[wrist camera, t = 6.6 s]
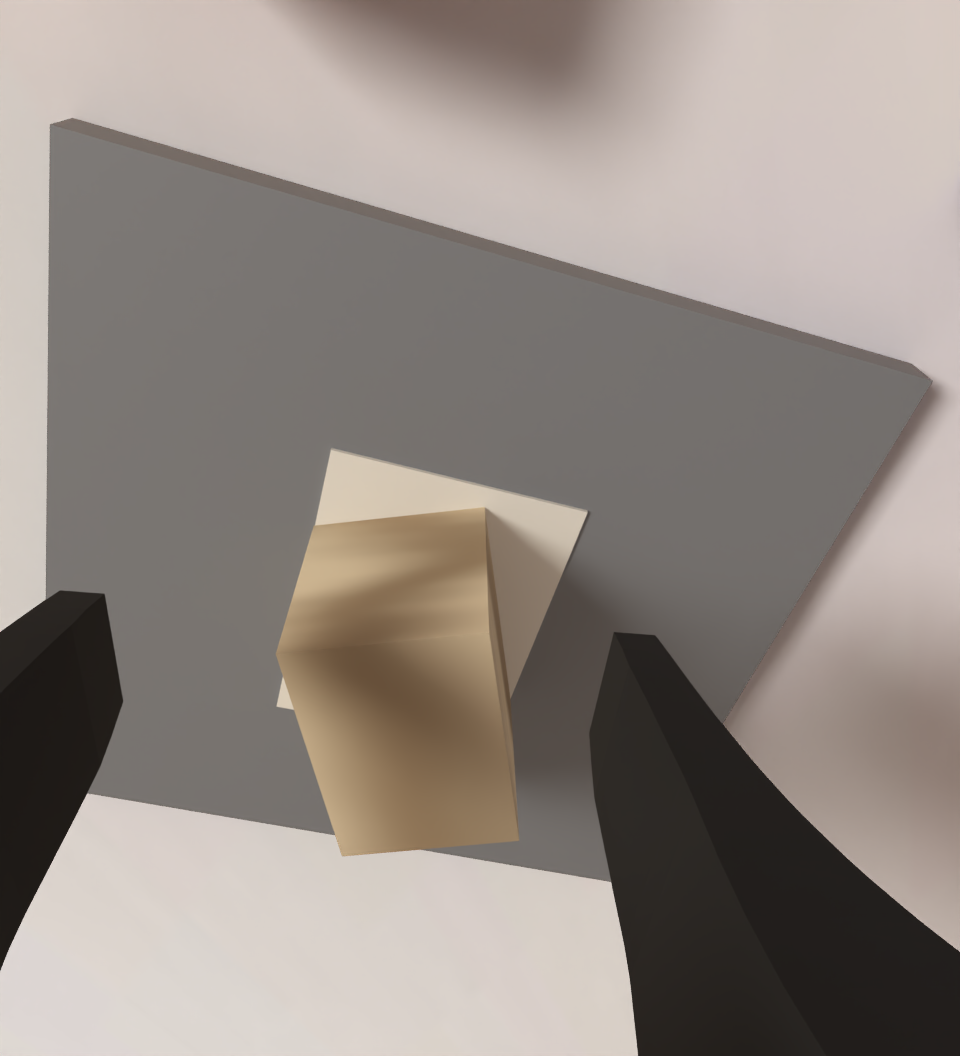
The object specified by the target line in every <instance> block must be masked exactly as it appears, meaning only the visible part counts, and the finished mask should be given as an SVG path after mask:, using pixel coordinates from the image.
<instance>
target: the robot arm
mask: <svg viewBox="0 0 960 1056" xmlns="http://www.w3.org/2000/svg"><path fill="white" fill-rule="evenodd" d="M122 704H123V696H122V691H121V685H120V679H119V673H118V667H117V662H116V656H115V650H114V644H113V639H112V633H111V627H110V621H109V616H108V610H107V604H106V598H105V594H102V593H89V592H76V591H63V590H60V591H58V592H57V593H55V594H54V595H52V596H51V597H49V598H48V599H46V600H45V601H43V602H42V603H40V604H39V605H37V606H36V607H35V608H33V609H32V610H30V611H29V612H28V613H26V614H25V615H23V616H22V617H21V618H19V619H18V620H16V621H15V622H14V623H12V624H11V625H9V626H8V627H7V628H5V629H4V630H3V631H1V632H0V970H1V967H2V965H3V962H4V960H5V957H6V955H7V952H8V950H9V948H10V945H11V943H12V941H13V939H14V937H15V935H16V933H17V930H18V928H19V926H20V924H21V922H22V920H23V918H24V915H25V913H26V911H27V909H28V908H29V906H30V904H31V902H32V900H33V898H34V896H35V894H36V892H37V890H38V888H39V886H40V884H41V882H42V880H43V878H44V876H45V875H46V873H47V871H48V869H49V867H50V865H51V863H52V861H53V859H54V857H55V855H56V853H57V851H58V849H59V847H60V845H61V843H62V842H63V840H64V838H65V836H66V834H67V832H68V830H69V828H70V826H71V824H72V822H73V820H74V818H75V816H76V814H77V812H78V810H79V808H80V806H81V804H82V802H83V800H84V799H85V797H86V795H87V793H88V791H89V789H90V787H91V785H92V783H93V781H94V779H95V777H96V775H97V772H98V770H99V768H100V766H101V764H102V761H103V758H104V755H105V753H106V750H107V747H108V745H109V742H110V739H111V737H112V734H113V731H114V728H115V725H116V722H117V719H118V716H119V713H120V710H121V707H122ZM589 738H590V752H591V766H592V778H593V789H594V799H595V804H596V809H597V814H598V819H599V824H600V829H601V834H602V839H603V844H604V849H605V854H606V859H607V864H608V868H609V873H610V878H611V883H612V888H613V893H614V897H615V902H616V907H617V912H618V917H619V922H620V926H621V931H622V936H623V941H624V946H625V952H626V958H627V964H628V970H629V976H630V984H631V993H632V1002H633V1011H634V1021H635V1030H636V1039H637V1048H638V1056H960V952H959V951H958V950H956V949H955V948H954V947H953V946H951V945H950V944H949V943H947V942H946V941H945V940H944V939H942V938H941V937H940V936H938V935H937V934H936V933H935V932H933V931H932V930H931V929H929V928H928V927H927V926H926V925H924V924H923V923H922V922H921V921H919V920H918V919H917V918H916V917H914V916H913V915H912V914H911V913H910V912H909V911H907V910H906V909H905V908H904V907H903V906H901V905H900V904H899V903H898V902H897V901H895V900H894V899H893V898H892V897H891V896H889V895H888V894H887V893H886V892H885V891H884V890H882V889H881V888H880V887H879V886H878V885H876V884H875V883H874V882H873V881H872V880H871V879H869V878H868V877H867V876H866V875H865V874H864V873H863V872H862V871H860V870H859V869H858V868H857V867H856V866H855V865H854V864H853V863H852V862H850V861H849V860H848V859H847V858H846V857H845V856H844V855H843V854H842V853H841V852H840V851H839V850H838V849H837V848H836V847H835V846H834V845H833V844H831V843H830V842H829V841H828V840H827V839H826V838H825V837H824V836H823V835H822V834H821V833H820V832H819V831H818V830H817V829H816V828H815V827H814V826H813V825H812V824H811V823H810V822H809V821H808V820H807V819H806V818H805V817H804V816H803V815H802V814H801V813H800V812H799V811H798V810H797V809H796V808H795V807H794V806H793V805H792V804H791V803H790V802H789V801H788V800H787V799H786V798H785V796H784V795H783V794H782V793H781V792H780V791H779V790H778V789H777V788H776V787H775V785H774V784H773V783H772V782H771V781H770V780H769V779H768V778H767V777H766V776H765V774H764V773H763V772H762V771H761V770H760V769H759V768H758V766H757V765H756V764H755V763H754V762H753V761H752V759H751V758H750V757H749V756H748V755H747V754H746V752H745V751H744V750H743V749H742V747H741V746H740V745H739V744H738V743H737V741H736V740H735V739H734V738H733V736H732V735H731V734H730V733H729V731H728V730H727V729H726V728H725V726H724V725H723V724H722V723H721V722H720V720H719V719H718V718H717V716H716V715H715V714H714V713H713V711H712V710H711V709H710V707H709V706H708V705H707V704H706V702H705V701H704V700H703V698H702V697H701V696H700V694H699V693H698V692H697V690H696V689H695V688H694V686H693V685H692V684H691V682H690V681H689V680H688V678H687V677H686V676H685V674H684V673H683V672H682V670H681V669H680V667H679V666H678V665H677V663H676V662H675V661H674V659H673V658H672V657H671V655H670V654H669V652H668V651H667V650H666V648H665V647H664V646H663V644H662V643H661V642H660V641H659V639H658V638H657V637H656V635H646V634H633V633H620V632H614V633H613V637H612V642H611V646H610V650H609V654H608V658H607V662H606V666H605V670H604V674H603V678H602V682H601V686H600V691H599V695H598V699H597V703H596V707H595V711H594V715H593V719H592V723H591V727H590V731H589Z"/></svg>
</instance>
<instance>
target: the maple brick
mask: <svg viewBox="0 0 960 1056" xmlns="http://www.w3.org/2000/svg"><path fill="white" fill-rule="evenodd" d="M276 657H277V660H278V663H279V666H280V669H281V672H282V675H283V678H284V681H285V684H286V687H287V690H288V693H289V696H290V699H291V702H292V705H293V708H294V711H295V714H296V717H297V720H298V723H299V727H300V730H301V733H302V736H303V739H304V742H305V745H306V748H307V751H308V754H309V757H310V760H311V763H312V766H313V769H314V772H315V775H316V778H317V781H318V784H319V787H320V790H321V793H322V797H323V800H324V803H325V806H326V809H327V812H328V815H329V818H330V821H331V824H332V827H333V830H334V833H335V836H336V839H337V842H338V845H339V848H340V851H341V854H342V856H351V855H363V854H374V853H386V852H397V851H409V850H420V849H432V848H443V847H455V846H466V845H478V844H489V843H501V842H512V841H519V829H518V813H517V797H516V781H515V765H514V749H513V733H512V717H511V701H510V692H509V684H508V677H507V669H506V662H505V654H504V647H503V640H502V632H501V625H500V617H499V610H498V602H497V595H496V587H495V580H494V572H493V565H492V558H491V550H490V543H489V535H488V528H487V520H486V513H485V507H481V508H472V509H463V510H454V511H445V512H435V513H426V514H417V515H408V516H398V517H389V518H380V519H371V520H361V521H352V522H343V523H334V524H325V525H315V526H313V530H312V533H311V537H310V540H309V543H308V547H307V550H306V553H305V557H304V560H303V564H302V567H301V570H300V574H299V577H298V580H297V584H296V587H295V591H294V594H293V597H292V601H291V604H290V607H289V611H288V614H287V618H286V621H285V624H284V628H283V631H282V634H281V638H280V641H279V645H278V648H277V651H276Z"/></svg>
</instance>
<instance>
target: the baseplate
mask: <svg viewBox="0 0 960 1056" xmlns="http://www.w3.org/2000/svg"><path fill="white" fill-rule="evenodd" d="M931 383H932V380H931V379H930V378H928V377H927V376H926V375H925V374H923V373H922V372H921V371H920V370H918V369H917V368H916V367H915V366H913V365H912V364H910V363H907V362H904V361H900V360H897V359H893V358H890V357H886V356H883V355H880V354H876V353H873V352H869V351H866V350H863V349H859V348H856V347H852V346H849V345H846V344H842V343H839V342H835V341H832V340H828V339H825V338H822V337H818V336H815V335H811V334H808V333H805V332H801V331H798V330H794V329H791V328H787V327H784V326H781V325H777V324H774V323H770V322H767V321H764V320H760V319H757V318H753V317H750V316H747V315H743V314H740V313H736V312H733V311H729V310H726V309H723V308H719V307H716V306H712V305H709V304H706V303H702V302H699V301H695V300H692V299H688V298H685V297H682V296H678V295H675V294H671V293H668V292H665V291H661V290H658V289H654V288H651V287H648V286H644V285H641V284H637V283H634V282H630V281H627V280H624V279H620V278H617V277H613V276H610V275H607V274H603V273H600V272H596V271H593V270H589V269H586V268H583V267H579V266H576V265H572V264H569V263H566V262H562V261H559V260H555V259H552V258H548V257H545V256H542V255H538V254H535V253H531V252H528V251H525V250H521V249H518V248H514V247H511V246H508V245H504V244H501V243H497V242H494V241H490V240H487V239H484V238H480V237H477V236H473V235H470V234H467V233H463V232H460V231H456V230H453V229H449V228H446V227H443V226H439V225H436V224H432V223H429V222H426V221H422V220H419V219H415V218H412V217H409V216H405V215H402V214H398V213H395V212H391V211H388V210H385V209H381V208H378V207H374V206H371V205H368V204H364V203H361V202H357V201H354V200H350V199H347V198H344V197H340V196H337V195H333V194H330V193H327V192H323V191H320V190H316V189H313V188H310V187H306V186H303V185H299V184H296V183H292V182H289V181H286V180H282V179H279V178H275V177H272V176H269V175H265V174H262V173H258V172H255V171H251V170H248V169H245V168H241V167H238V166H234V165H231V164H228V163H224V162H221V161H217V160H214V159H211V158H207V157H204V156H200V155H197V154H193V153H190V152H187V151H183V150H180V149H176V148H173V147H170V146H166V145H163V144H159V143H156V142H152V141H149V140H146V139H142V138H139V137H135V136H132V135H129V134H125V133H122V132H118V131H115V130H112V129H108V128H105V127H101V126H98V125H94V124H91V123H88V122H84V121H81V120H77V119H74V118H71V119H68V120H64V121H61V122H57V123H53V124H50V179H49V294H48V409H47V524H46V599H48V598H49V597H51V596H52V595H54V594H55V593H57V592H58V591H60V590H63V591H76V592H89V593H102V594H105V598H106V604H107V610H108V616H109V621H110V627H111V633H112V639H113V644H114V650H115V656H116V662H117V667H118V673H119V679H120V685H121V691H122V696H123V704H122V707H121V710H120V713H119V716H118V719H117V722H116V725H115V728H114V731H113V734H112V737H111V739H110V742H109V745H108V747H107V750H106V753H105V755H104V758H103V761H102V764H101V766H100V768H99V770H98V772H97V775H96V777H95V779H94V781H93V783H92V785H91V787H90V789H89V791H88V793H89V794H95V795H101V796H107V797H113V798H119V799H124V800H130V801H136V802H142V803H148V804H154V805H160V806H166V807H172V808H178V809H184V810H189V811H195V812H201V813H207V814H213V815H219V816H225V817H231V818H237V819H243V820H249V821H255V822H260V823H266V824H272V825H278V826H284V827H290V828H296V829H302V830H308V831H314V832H320V833H325V834H331V835H335V833H334V830H333V827H332V824H331V821H330V818H329V815H328V812H327V809H326V806H325V803H324V800H323V797H322V793H321V790H320V787H319V784H318V781H317V778H316V775H315V772H314V769H313V766H312V763H311V760H310V757H309V754H308V751H307V748H306V745H305V742H304V739H303V736H302V733H301V730H300V727H299V723H298V720H297V717H296V714H295V711H294V708H293V705H292V702H291V699H290V696H289V693H288V690H287V687H286V684H285V681H284V678H283V675H282V672H281V669H280V666H279V663H278V660H277V657H276V651H277V648H278V645H279V641H280V638H281V634H282V631H283V628H284V624H285V621H286V618H287V614H288V611H289V607H290V604H291V601H292V597H293V594H294V591H295V587H296V584H297V580H298V577H299V574H300V570H301V567H302V564H303V560H304V557H305V553H306V550H307V547H308V543H309V540H310V537H311V533H312V530H313V526H315V525H325V524H334V523H343V522H352V521H361V520H371V519H380V518H389V517H398V516H408V515H417V514H426V513H435V512H445V511H454V510H463V509H472V508H481V507H485V513H486V520H487V528H488V535H489V543H490V550H491V558H492V565H493V572H494V580H495V587H496V595H497V602H498V610H499V617H500V625H501V632H502V640H503V647H504V654H505V662H506V669H507V677H508V684H509V692H510V701H511V717H512V733H513V749H514V765H515V781H516V797H517V813H518V829H519V841H512V842H501V843H489V844H478V845H466V846H455V847H443V848H432V849H420V850H426V851H432V852H438V853H444V854H450V855H455V856H461V857H467V858H473V859H479V860H485V861H491V862H497V863H503V864H509V865H515V866H521V867H526V868H532V869H538V870H544V871H550V872H556V873H562V874H568V875H574V876H580V877H586V878H591V879H597V880H603V881H609V882H611V878H610V873H609V868H608V864H607V859H606V854H605V849H604V844H603V839H602V834H601V829H600V824H599V819H598V814H597V809H596V804H595V799H594V789H593V778H592V766H591V752H590V738H589V731H590V727H591V723H592V719H593V715H594V711H595V707H596V703H597V699H598V695H599V691H600V686H601V682H602V678H603V674H604V670H605V666H606V662H607V658H608V654H609V650H610V646H611V642H612V637H613V633H614V632H620V633H633V634H646V635H656V637H657V638H658V639H659V641H660V642H661V643H662V644H663V646H664V647H665V648H666V650H667V651H668V652H669V654H670V655H671V657H672V658H673V659H674V661H675V662H676V663H677V665H678V666H679V667H680V669H681V670H682V672H683V673H684V674H685V676H686V677H687V678H688V680H689V681H690V682H691V684H692V685H693V686H694V688H695V689H696V690H697V692H698V693H699V694H700V696H701V697H702V698H703V700H704V701H705V702H706V704H707V705H708V706H709V707H710V709H711V710H712V711H713V713H714V714H715V715H716V716H717V718H718V719H719V720H720V722H721V723H722V724H723V722H724V721H725V719H726V717H727V716H728V714H729V712H730V711H731V709H732V708H733V706H734V704H735V703H736V701H737V699H738V698H739V696H740V695H741V693H742V691H743V690H744V688H745V686H746V685H747V683H748V681H749V680H750V678H751V677H752V675H753V673H754V672H755V670H756V668H757V667H758V665H759V664H760V662H761V660H762V659H763V657H764V655H765V654H766V652H767V650H768V649H769V647H770V646H771V644H772V642H773V641H774V639H775V637H776V636H777V634H778V633H779V631H780V629H781V628H782V626H783V624H784V623H785V621H786V619H787V618H788V616H789V615H790V613H791V611H792V610H793V608H794V606H795V605H796V603H797V602H798V600H799V598H800V597H801V595H802V593H803V592H804V590H805V588H806V587H807V585H808V584H809V582H810V580H811V579H812V577H813V575H814V574H815V572H816V571H817V569H818V567H819V566H820V564H821V562H822V561H823V559H824V557H825V556H826V554H827V553H828V551H829V549H830V548H831V546H832V544H833V543H834V541H835V540H836V538H837V536H838V535H839V533H840V531H841V530H842V528H843V526H844V525H845V523H846V522H847V520H848V518H849V517H850V515H851V513H852V512H853V510H854V509H855V507H856V505H857V504H858V502H859V500H860V499H861V497H862V495H863V494H864V492H865V491H866V489H867V487H868V486H869V484H870V482H871V481H872V479H873V478H874V476H875V474H876V473H877V471H878V469H879V468H880V466H881V464H882V463H883V461H884V460H885V458H886V456H887V455H888V453H889V451H890V450H891V448H892V447H893V445H894V443H895V442H896V440H897V438H898V437H899V435H900V433H901V432H902V430H903V429H904V427H905V425H906V424H907V422H908V420H909V419H910V417H911V416H912V414H913V412H914V411H915V409H916V407H917V406H918V404H919V402H920V401H921V399H922V398H923V396H924V394H925V393H926V391H927V389H928V388H929V386H930V385H931Z"/></svg>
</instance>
